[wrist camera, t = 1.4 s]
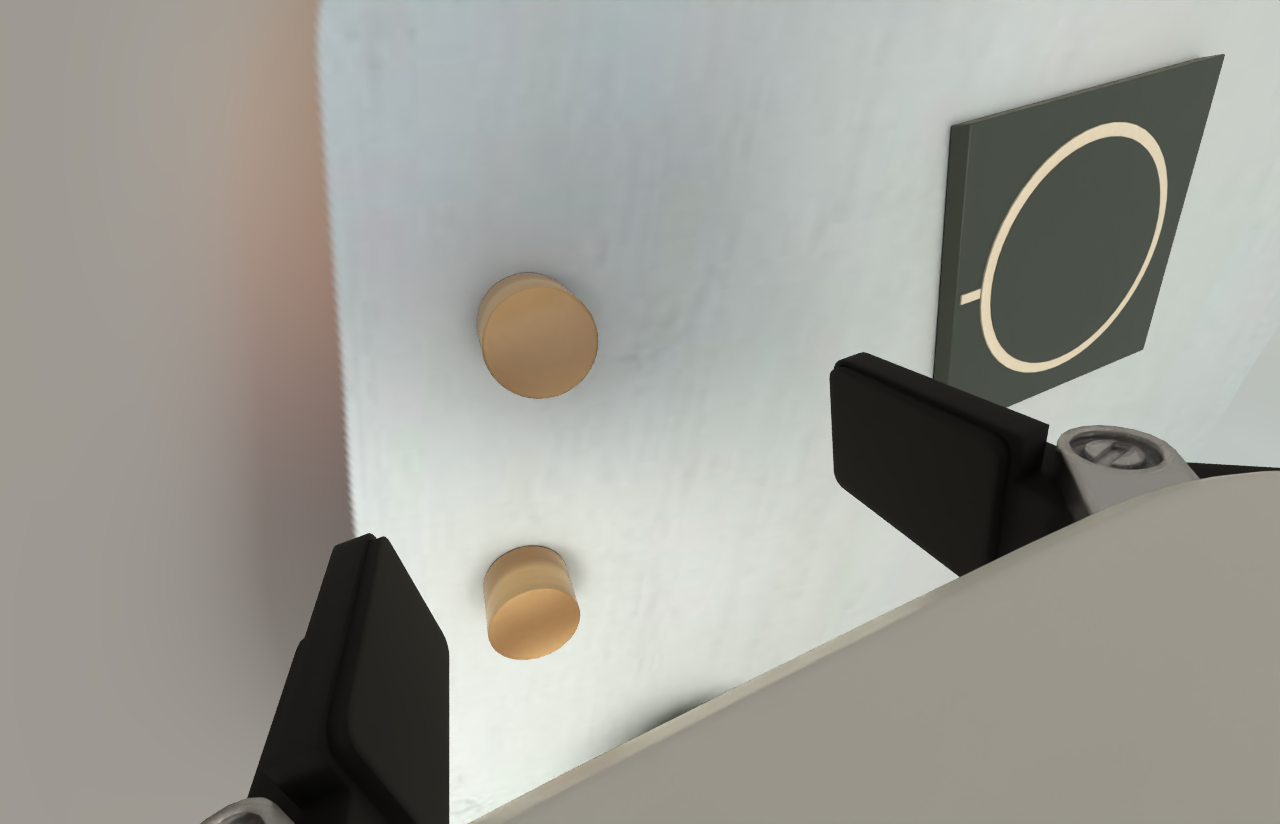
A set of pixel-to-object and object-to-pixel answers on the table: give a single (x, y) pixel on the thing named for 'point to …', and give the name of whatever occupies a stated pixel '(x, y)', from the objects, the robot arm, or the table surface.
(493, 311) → the tan cork puck
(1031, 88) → the table surface
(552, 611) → the tan cork stopper
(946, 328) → the slate board
